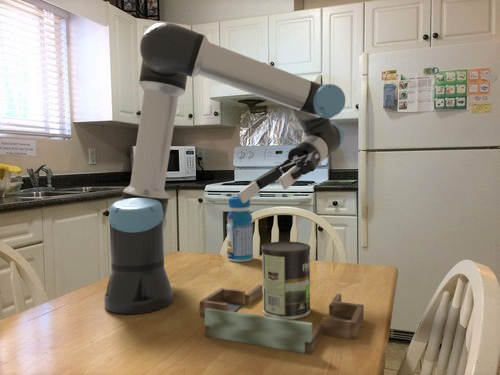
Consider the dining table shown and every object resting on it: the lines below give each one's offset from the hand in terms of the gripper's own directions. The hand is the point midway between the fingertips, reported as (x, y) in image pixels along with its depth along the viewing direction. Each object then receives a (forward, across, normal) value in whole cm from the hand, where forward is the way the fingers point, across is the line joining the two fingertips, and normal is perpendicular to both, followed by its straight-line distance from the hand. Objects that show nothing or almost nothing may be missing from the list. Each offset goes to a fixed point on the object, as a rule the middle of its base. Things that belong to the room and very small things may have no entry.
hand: (260, 191), depth 94 cm
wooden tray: (+14, -2, -23) cm, 27 cm away
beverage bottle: (-16, +39, -23) cm, 48 cm away
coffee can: (+11, 0, -24) cm, 27 cm away
